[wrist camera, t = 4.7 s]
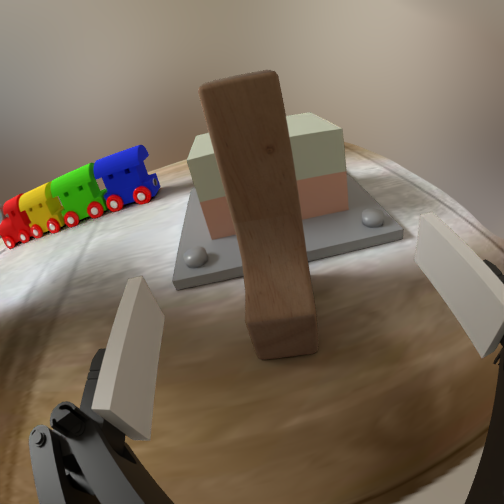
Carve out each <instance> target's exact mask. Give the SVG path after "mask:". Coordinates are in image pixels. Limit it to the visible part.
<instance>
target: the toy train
mask: <svg viewBox="0 0 504 504" xmlns="http://www.w3.org/2000/svg"><path fill="white" fill-rule="evenodd" d="M148 155H149V154H148V152H147V150H146V148H145V147H144V146H143V145H138V146H135V147H132V148H129V149H127V150H123V151H121V152H118V153H115V154H112V155H110V156H107V157H105V158H102V159H99V160H97V161H96V162H95V163H89V164H87V165H85V166H83V167H80V168H78V169H76V170H74V171H71V172H69V173H67V174H65V175H63V176H61V177H59V178H56V179H54V180H53V181H51V182H48V183H46V184H44V185H41V186H39V187H37V188H35V189H33V190H31V191H29V192H27V193H25V194H19V195H17V196H16V197H14V198H12V199H10V200H9V201H7V202H6V203H5V204H4V206H3V205H2V204H0V209H1V212H2V217H3V218H2V222H1V224H0V235H1V236H2V239H3V241H4V243H5V245H6V246H7V247H8V248H9V249H11V248H14V247H15V243H17V242H19V241H21V242H22V243H26V242H28V241H29V240H30V237H31V236H34V237H35V238H40V237H42V236H43V233H44V232H47V231H50V232H51V233H57V232H59V231H60V227H62V226H63V225H64V224H66V225H67V226H68V227H74V226H76V225H78V224H79V220H81V219H83V218H86V217H89V216H90V217H91V218H94V219H95V218H98V217H100V216H102V215H103V212H104V211H105V210H107V208H108V209H109V210H110V211H112V212H116V211H119V210H121V209H122V208H123V205H124V204H128V203H131V202H136V203H138V204H145V203H148V202H149V201H150V200H151V197H153V196H155V195H156V193H157V192H158V190H159V188H160V184H159V181H158V178H157V175H156V173H154V174H151V175H148V173H147V170H146V168H145V165H144V162H143V161H144V160H145V159H146V158H147V157H148ZM101 177H102V179H103V181H104V184H105V187H106V189H104V190H101V191H100V189H99V187H98V184H97V182H96V179H99V178H101ZM57 196H59V198H60V200H61V202H62V205H63V206H61V204H60V202H59V199H58V197H57ZM6 214H7V217H6V216H5V215H6Z"/></svg>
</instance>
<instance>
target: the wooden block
mask: <svg viewBox="0 0 504 504" xmlns="http://www.w3.org/2000/svg"><path fill="white" fill-rule="evenodd" d="M198 93H199V97H200V101H201V104H202V109H203V112H204V116H205V120H206V124H207V128H208V131H209V135H210V139H211V143H212V147H213V150H214V154H215V158H216V162H217V165H218V169H219V173H220V177H221V180H222V184H223V188H224V191H225V195H226V199H227V203H228V206H229V210H230V214H231V217H232V221H233V225H234V228H235V232H236V236H237V241H238V246H239V250H240V255H241V259H242V267H243V275H244V283H245V322H246V325H247V328H248V331H249V334H250V337H251V340H252V343H253V346H254V349H255V352H256V355H257V357H258V358H259V359H262V360H264V359H274V358H283V357H291V356H299V355H306V354H313V353H316V352H317V350H318V347H319V346H318V330H317V316H316V308H315V302H314V296H313V290H312V284H311V278H310V271H309V265H308V258H307V252H306V244H305V237H304V230H303V223H302V215H301V208H300V201H299V194H298V187H297V180H296V173H295V167H294V161H293V155H292V148H291V142H290V137H289V131H288V125H287V120H286V114H285V109H284V103H283V98H282V93H281V88H280V83H279V78H278V75H277V74H276V72H275V71H271V70H263V71H258V72H252V73H247V74H242V75H237V76H233V77H228V78H223V79H219V80H215V81H212V82H208V83H205V84H203V85H201V86H200V87H199V91H198Z"/></svg>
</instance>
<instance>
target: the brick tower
mask: <svg viewBox="0 0 504 504" xmlns="http://www.w3.org/2000/svg"><path fill="white" fill-rule="evenodd" d="M286 120H287V125H288V131H289V137H290V142H291V148H292V155H293V161H294V167H295V173H296V180H297V187H298V194H299V201H300V208H301V215H302V223H303V230H304V237H305V244H306V252H307V258H308V261H312V260H317V259H321V258H325V257H329V256H334V255H338V254H342V253H346V252H350V251H355V250H359V249H363V248H367V247H371V246H375V245H379V244H383V243H387V242H391V241H395V240H399V239H402V238H403V228H402V227H401V226H400V225H399V224H398V223H397V222H396V221H395V220H394V219H393V218H392V217H391V216H390V215H389V213H388V212H387V211H386V210H385V209H384V208H383V207H382V206H381V205H380V204H379V203H378V202H377V201H376V200H375V199H374V198H373V197H372V196H371V195H370V194H369V193H368V192H366V191H365V190H364V189H363V188H362V187H361V186H360V185H359V184H358V183H357V182H356V181H355V180H354V179H353V178H352V177H351V176H350V175H348V174H347V173H346V160H345V149H344V139H343V130H342V128H340V127H338V126H336V125H335V124H333V123H331V122H329V121H327V120H325V119H323V118H321V117H319V116H317V115H315V114H313V113H311V112H310V113H302V114H297V115H290V116H286ZM187 163H188V166H189V170H190V173H191V176H192V180H193V183H194V186H195V188H192V189H191V193H190V197H189V201H188V206H187V210H186V215H185V219H184V224H183V229H182V233H181V238H180V243H179V248H178V253H177V258H176V264H175V269H174V274H173V280H172V282H173V284H174V286H175V288H176V290H180V289H185V288H189V287H194V286H199V285H204V284H209V283H213V282H218V281H223V280H227V279H232V278H237V277H241V276H244V275H243V267H242V259H241V255H240V250H239V246H238V241H237V236H236V232H235V228H234V225H233V221H232V217H231V214H230V210H229V206H228V203H227V199H226V195H225V191H224V188H223V184H222V180H221V177H220V173H219V169H218V165H217V162H216V158H215V154H214V150H213V147H212V143H211V139H210V135H209V133H206V134H202V135H198V136H196V138H195V140H194V143H193V146H192V148H191V151H190V154H189V156H188V158H187Z"/></svg>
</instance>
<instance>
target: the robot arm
mask: <svg viewBox="0 0 504 504" xmlns="http://www.w3.org/2000/svg"><path fill="white" fill-rule="evenodd" d="M2 218H3V217H2V212H1V209H0V224H1V222H2ZM414 261H415V262H416V263H417V265H418V266H419V267H420V269H421V270H422V271H423V272H424V274H425V275H426V276H427V278H428V279H429V280H430V282H431V283H432V284H433V286H434V287H435V288H436V290H437V291H438V293H439V294H440V295H441V297H442V298H443V300H444V301H445V302H446V304H447V305H448V307H449V308H450V310H451V311H452V312H453V314H454V315H455V317H456V318H457V320H458V321H459V323H460V324H461V326H462V327H463V329H464V330H465V332H466V334H467V335H468V337H469V338H470V340H471V341H472V343H473V345H474V346H475V348H476V350H477V351H478V353H479V355H480V356H481V358H484V357H485V356H487V355H489V354H491V353H492V352H494V351H495V349H496V348H497V346H498V344H499V343H501V345H502V346H503V348H502V349H501V351H500V352H499V354H498V355H497V357H496V358H495V360H494V363H493V364H496V363H497V361H498V360H499V358H500V363H499V364H498V365H499V373H498V381H497V388H496V395H495V401H494V406H493V412H492V417H491V421H490V426H489V430H488V434H487V438H486V442H485V446H484V450H483V453H482V457H481V460H480V463H479V466H478V469H477V472H476V475H475V478H474V481H473V484H472V486H471V489H470V492H469V494H468V497H467V499H466V502H465V504H504V275H502V272H501V271H500V270H499V269H498V268H497V267H496V266H495V265H494V264H492V263H491V262H489V261H487V260H483V261H482V260H481V258H480V257H479V256H478V255H477V254H476V253H475V252H474V251H473V250H472V249H471V248H470V247H469V246H468V245H467V244H466V243H465V242H464V241H463V240H462V239H461V238H460V237H459V236H458V235H457V234H456V233H455V232H454V231H453V230H452V229H451V228H449V227H448V226H447V225H446V224H445V223H444V222H443V221H442V220H441V219H440V218H439V217H438V216H436V215H435V214H434V213H433V212H429V213H425V214H420V221H419V230H418V238H417V245H416V252H415V259H414ZM164 320H165V316H164V314H163V312H162V311H161V309H160V307H159V305H158V304H157V302H156V300H155V298H154V296H153V295H152V293H151V291H150V289H149V287H148V285H147V283H146V281H145V280H144V278H143V276H139V277H135V278H130V279H128V281H127V284H126V287H125V290H124V292H123V295H122V298H121V301H120V304H119V308H118V311H117V314H116V317H115V320H114V323H113V327H112V330H111V333H110V337H109V340H108V344H107V347H106V348H105V349H99V350H98V352H97V353H96V355H95V356H94V358H93V359H92V363H91V366H90V372H89V373H88V377H87V379H88V380H87V381H86V385H85V389H84V393H83V397H82V401H81V405H80V409H79V408H78V407H76V406H75V405H74V404H73V403H70V402H62V403H60V404H58V405H57V406H56V407H55V408H54V409H53V411H52V413H51V417H50V425H51V427H52V428H53V429H54V430H51V429H49V428H48V427H47V426H44V425H38V426H36V427H35V428H34V429H33V430H32V431H31V433H30V436H29V448H30V456H31V463H32V469H33V475H34V480H35V485H36V490H37V495H38V499H39V503H40V504H174V503H173V502H172V501H171V499H170V498H169V497H168V496H167V495H166V494H165V492H164V491H163V490H162V489H161V488H160V487H159V485H158V484H157V483H156V482H155V480H154V479H153V478H152V477H151V475H150V474H149V473H148V471H147V470H146V469H145V468H144V466H143V465H142V464H141V462H140V461H139V460H138V458H137V457H136V455H135V454H134V453H133V451H132V450H131V448H130V447H129V445H128V444H127V443H126V442H125V435H126V436H128V437H129V438H131V439H132V440H150V437H151V425H152V414H153V403H154V394H155V385H156V377H157V369H158V361H159V354H160V347H161V340H162V333H163V327H164Z"/></svg>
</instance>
